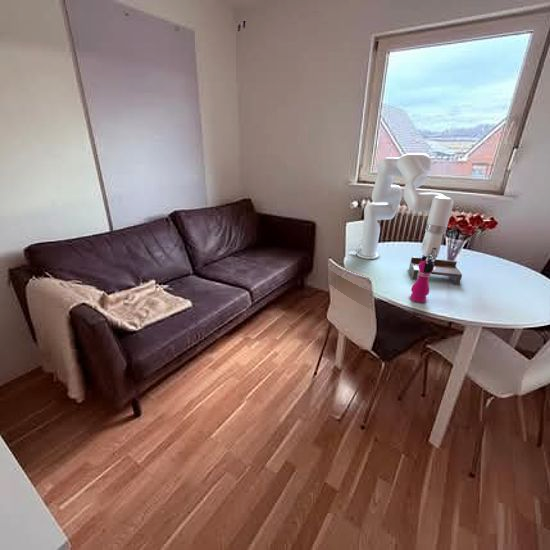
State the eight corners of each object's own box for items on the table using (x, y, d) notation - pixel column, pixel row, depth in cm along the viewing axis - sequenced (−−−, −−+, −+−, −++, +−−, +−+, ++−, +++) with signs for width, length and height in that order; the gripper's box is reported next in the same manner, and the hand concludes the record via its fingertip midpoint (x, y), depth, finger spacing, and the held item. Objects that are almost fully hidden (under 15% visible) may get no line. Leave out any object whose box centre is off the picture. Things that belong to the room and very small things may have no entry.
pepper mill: (407, 299, 138) (417, 258, 129) (411, 293, 144) (421, 253, 135) (424, 304, 134) (436, 262, 126) (428, 298, 140) (439, 257, 131)
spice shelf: (412, 279, 158) (415, 265, 155) (408, 270, 169) (411, 256, 165) (459, 284, 154) (463, 270, 150) (452, 275, 164) (456, 261, 161)
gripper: (421, 221, 133) (412, 260, 141) (430, 233, 118) (420, 276, 126) (440, 223, 132) (430, 262, 140) (452, 235, 117) (439, 278, 124)
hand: (425, 268), depth 133 cm, fingers closed on pepper mill, 6 cm apart
